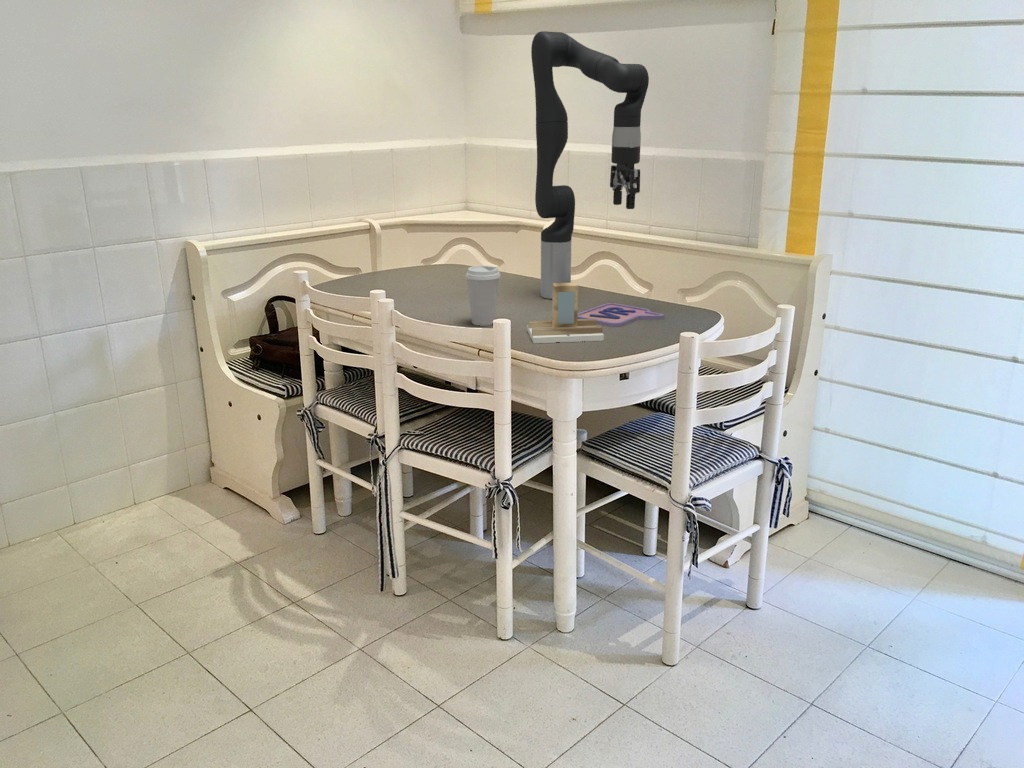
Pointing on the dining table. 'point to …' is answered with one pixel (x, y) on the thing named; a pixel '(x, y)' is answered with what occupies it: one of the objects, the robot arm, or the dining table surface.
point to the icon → (617, 314)
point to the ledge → (565, 332)
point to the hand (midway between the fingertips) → (623, 206)
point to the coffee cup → (483, 293)
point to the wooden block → (564, 305)
